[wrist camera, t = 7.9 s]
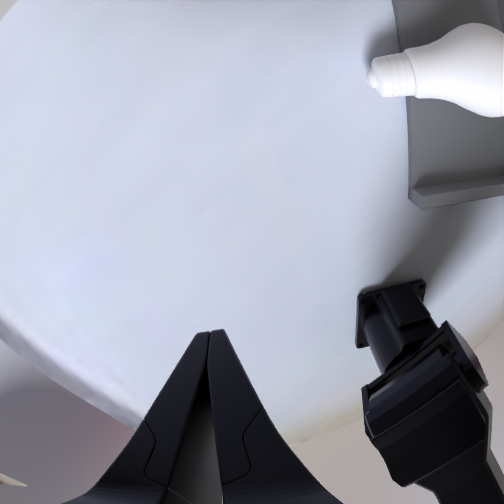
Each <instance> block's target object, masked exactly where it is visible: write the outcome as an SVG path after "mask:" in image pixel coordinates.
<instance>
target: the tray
mask: <svg viewBox="0 0 504 504" xmlns="http://www.w3.org/2000/svg"><path fill="white" fill-rule="evenodd" d="M392 3H393V8H394V13H395V19H396V24H397V30H398V36H399V42H400V49H401V53H402V52H404V50H405V49H408V48H414V47H420V46H423V45H427V44H430V43H432V42H434V41H436V40H439V39H440V38H442V37H443V36H444V35H446V34H447V33H448V32H450V31H452V30H453V29H455V28H457V27H458V26H461V25H464V24H468V23H480V24H485V25H489V26H491V27H493V28H495V29H497V30H499V31H501V32H502V33H504V0H392ZM406 105H407V121H408V146H409V193H408V199H410V200H411V201H412V202H413V203H414V204H415V205H417V206H418V207H419V208H420V209H421V210H425V209H430V208H435V207H441V206H446V205H452V204H457V203H463V202H468V201H474V200H479V199H485V198H490V197H496V196H501V195H504V116H502V117H486V116H482V115H479V114H476V113H474V112H472V111H469V110H467V109H465V108H463V107H461V106H459V105H457V104H455V103H453V102H450V101H446V100H442V99H434V98H422V99H420V98H416V97H415V96H406Z"/></svg>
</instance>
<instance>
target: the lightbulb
mask: <svg viewBox="0 0 504 504" xmlns="http://www.w3.org/2000/svg"><path fill="white" fill-rule="evenodd" d="M367 81H368V83H369V84H370V86H371V87H373V88H375V89H377V90H378V92H379V93H380V94H381V95H382V96H383V97H399V96H415V97H416V98H420V99H422V98H434V99H442V100H446V101H450V102H453V103H455V104H457V105H459V106H461V107H463V108H465V109H467V110H469V111H472V112H474V113H476V114H479V115H482V116H486V117H502V116H504V33H502V32H501V31H499V30H497V29H495V28H493V27H491V26H489V25H485V24H480V23H468V24H464V25H461V26H458V27H457V28H455V29H453V30H452V31H450V32H448V33H447V34H446V35H444V36H443V37H442V38H440V39H439V40H436V41H434V42H432V43H430V44H427V45H423V46H420V47H414V48H408V49H405V50H404V52H402V53H396V54H389V55H383V56H380V57H375V58H374V59H373V60H372V63H371V68H370V69H369V70H368V71H367Z"/></svg>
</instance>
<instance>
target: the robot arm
mask: <svg viewBox="0 0 504 504" xmlns="http://www.w3.org/2000/svg"><path fill="white" fill-rule="evenodd" d="M425 289H426V283H425V281H424V280H422V279H420V280H416V281H412V282H409V283H405V284H401V285H397V286H393V287H389V288H385V289H381V290H377V291H373V292H369V293H365V294H362V295H360V296H359V297H358V299H357V318H356V338H355V344H356V347H357V348H364V347H368V346H370V349H371V351H372V353H373V356H374V358H375V360H376V363H377V365H378V367H379V370H380V372H381V374H382V375H381V376H379V377H378V378H377V379H375V380H374V381H372V382H371V383H370V384H366V385H365V386H364V387H362V388H361V390H362V401H363V412H364V425H365V433H366V435H367V436H368V437H369V439H370V441H371V443H372V444H373V445H374V446H375V448H376V449H378V450H379V452H380V454H381V456H382V457H383V459H384V461H385V463H386V465H387V468H388V470H389V473H390V475H391V478H392V480H393V481H395V482H396V483H397V484H399V485H400V486H401V487H407V486H409V485H411V484H413V483H415V484H417V485H419V486H421V487H423V488H426V489H427V490H429V491H432V492H433V493H434V494H435V496H436V498H437V499H438V501H439V503H440V504H504V474H503V472H502V471H501V469H500V466H499V464H498V463H497V461H496V459H495V457H494V455H493V453H492V451H491V449H490V444H491V432H492V405H491V403H490V401H489V399H488V397H487V396H486V394H485V392H484V391H483V389H484V388H485V387H486V386H488V381H487V379H486V376H485V374H484V372H483V369H482V367H481V364H480V362H479V360H478V358H477V356H476V355H475V353H474V352H473V350H472V349H471V347H470V346H469V345H468V343H467V342H466V340H465V339H464V338H463V337H462V336H461V335H460V334H459V333H458V332H457V331H456V329H455V328H454V327H453V326H452V325H451V324H450V323H449V322H448V321H447V320H446V321H445V322H444V323H442V324H441V327H440V328H438V327H437V325H436V324H435V322H434V321H433V319H432V317H431V314H430V312H429V311H428V310H427V308H426V307H425V305H424V304H423V299H424V294H425ZM364 299H365V300H364ZM362 300H363V301H362ZM222 495H223V504H343V503H342V502H341V501H339V500H338V499H337V498H336V497H334V496H333V495H332V494H331V493H330V492H328V491H327V490H326V489H325V488H324V487H323V486H322V485H321V484H320V483H319V482H318V481H317V480H316V478H315V477H314V476H313V475H312V474H311V473H310V472H309V470H308V469H307V468H306V467H305V466H304V465H303V463H302V462H301V461H300V460H299V458H298V457H297V456H296V455H295V454H294V452H293V451H292V450H291V449H290V447H289V446H288V445H287V443H286V442H285V441H284V439H283V438H282V437H281V435H280V434H279V433H278V431H277V429H276V428H275V426H274V424H273V423H272V421H271V419H270V418H269V416H268V414H267V412H266V410H265V409H264V407H263V405H262V403H261V401H260V399H259V397H258V395H257V393H256V392H255V390H254V388H253V386H252V384H251V382H250V380H249V378H248V376H247V374H246V372H245V370H244V368H243V366H242V364H241V362H240V360H239V358H238V356H237V354H236V352H235V350H234V348H233V346H232V344H231V342H230V340H229V338H228V336H227V334H226V332H225V330H224V329H219V330H213V331H211V332H209V331H206V332H200V333H197V334H196V335H195V337H194V338H193V340H192V341H191V343H190V345H189V346H188V348H187V349H186V351H185V353H184V354H183V356H182V358H181V359H180V361H179V362H178V364H177V366H176V367H175V369H174V370H173V372H172V374H171V375H170V377H169V378H168V380H167V382H166V383H165V385H164V387H163V388H162V390H161V391H160V393H159V395H158V396H157V398H156V400H155V401H154V403H153V404H152V406H151V408H150V409H149V411H148V412H147V414H146V416H145V417H144V420H142V422H141V424H140V425H139V427H138V428H137V430H136V432H135V433H134V435H133V436H132V438H131V439H130V441H129V442H128V444H127V445H126V446H125V448H124V449H123V451H122V452H121V453H120V454H119V456H118V457H117V458H116V460H115V461H114V462H113V463H112V464H111V466H110V467H109V468H108V469H107V471H106V472H105V473H104V475H103V476H102V477H101V478H100V479H99V481H98V482H97V483H96V484H95V485H94V486H93V487H92V488H91V489H90V490H89V491H88V492H86V493H85V494H83V495H81V496H79V497H77V498H75V499H72V500H70V501H67V502H65V503H62V504H222Z"/></svg>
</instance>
